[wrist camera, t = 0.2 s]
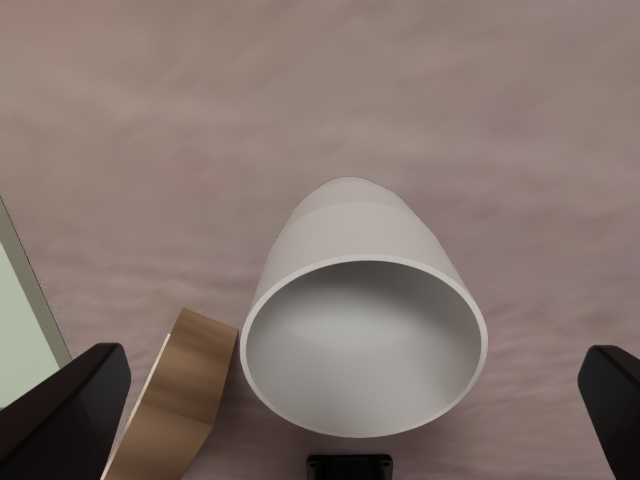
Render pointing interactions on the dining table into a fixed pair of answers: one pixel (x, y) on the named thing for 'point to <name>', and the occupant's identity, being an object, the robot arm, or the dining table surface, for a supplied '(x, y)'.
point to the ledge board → (24, 322)
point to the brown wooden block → (175, 402)
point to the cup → (360, 318)
